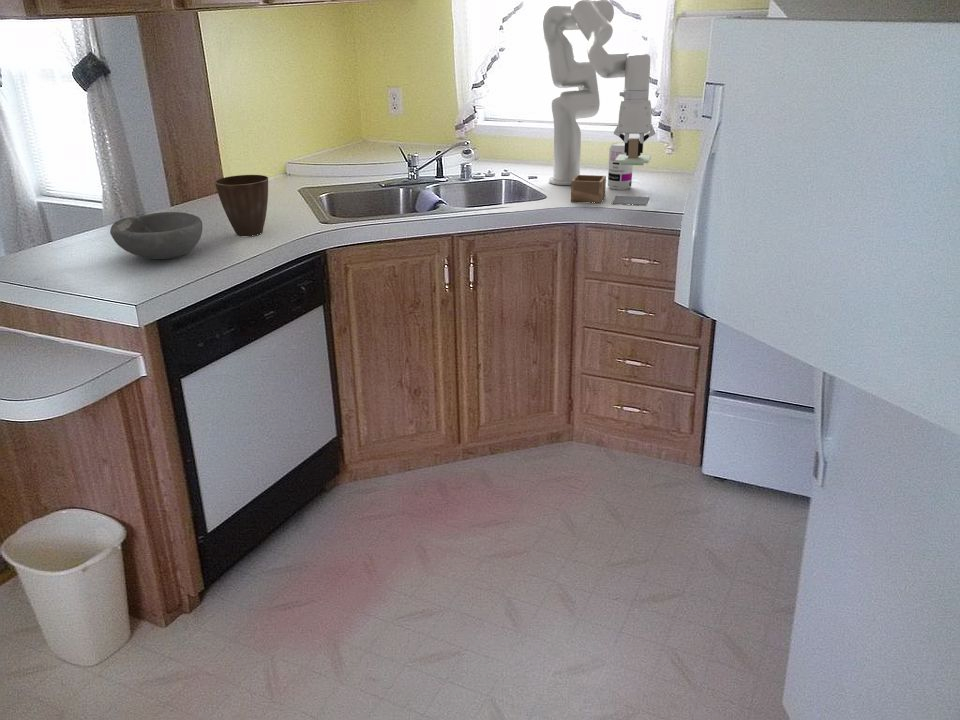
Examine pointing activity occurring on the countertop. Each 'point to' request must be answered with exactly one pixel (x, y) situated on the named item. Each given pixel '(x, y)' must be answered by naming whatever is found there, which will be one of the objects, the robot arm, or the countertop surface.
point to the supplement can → (618, 169)
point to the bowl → (158, 234)
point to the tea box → (588, 188)
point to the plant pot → (244, 202)
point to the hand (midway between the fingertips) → (633, 154)
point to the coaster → (630, 200)
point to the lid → (633, 155)
